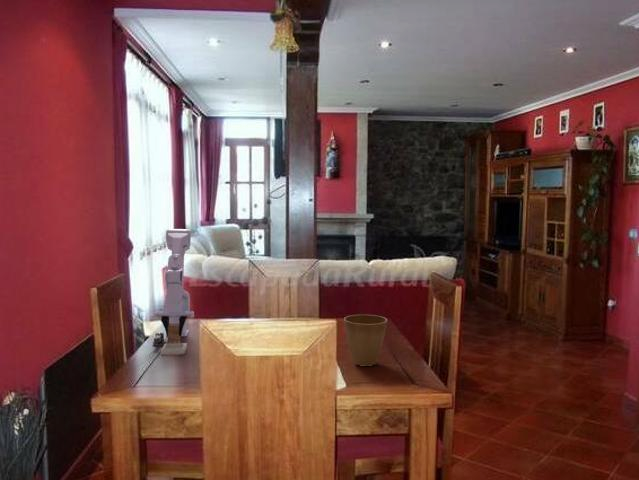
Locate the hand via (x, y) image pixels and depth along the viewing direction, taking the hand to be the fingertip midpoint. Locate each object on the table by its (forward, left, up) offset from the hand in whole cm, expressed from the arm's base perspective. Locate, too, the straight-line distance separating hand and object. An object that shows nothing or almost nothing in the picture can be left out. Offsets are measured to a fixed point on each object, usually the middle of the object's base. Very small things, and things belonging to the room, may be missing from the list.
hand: (174, 335), depth 201 cm
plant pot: (+27, +69, -4) cm, 74 cm away
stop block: (0, 0, -2) cm, 2 cm away
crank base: (-2, -3, -4) cm, 6 cm away
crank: (+1, -6, -3) cm, 6 cm away
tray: (+8, +1, -4) cm, 9 cm away
